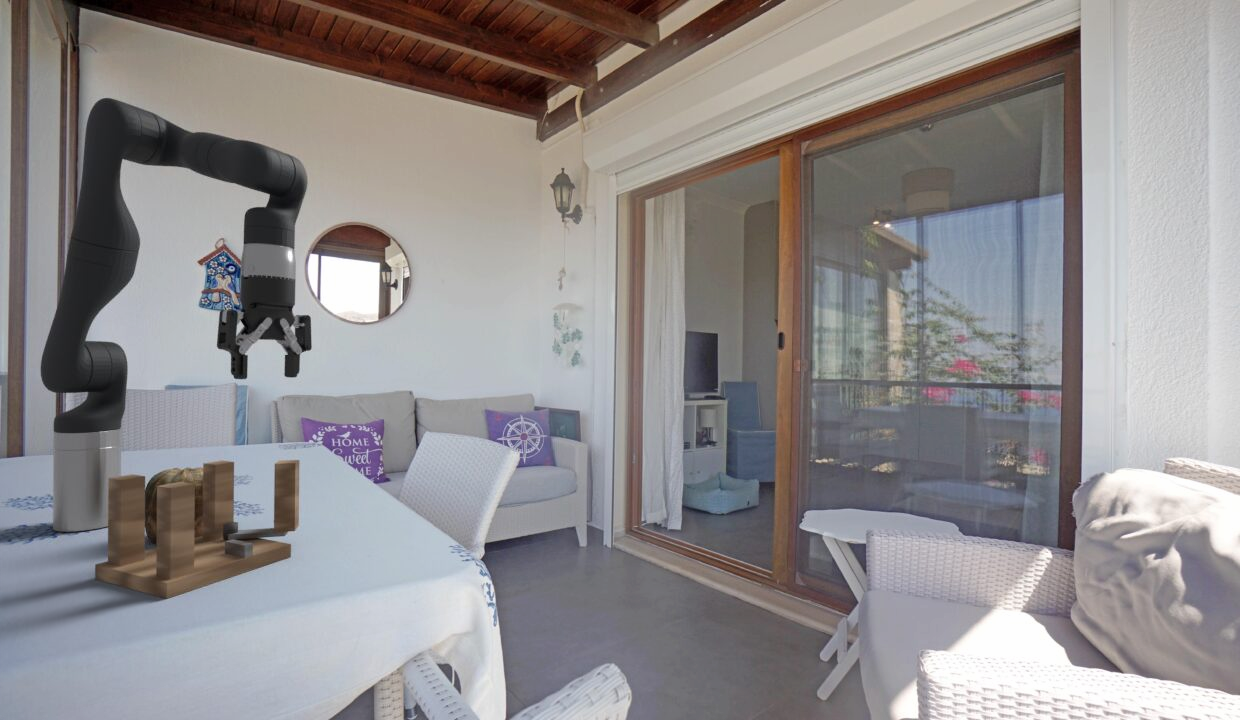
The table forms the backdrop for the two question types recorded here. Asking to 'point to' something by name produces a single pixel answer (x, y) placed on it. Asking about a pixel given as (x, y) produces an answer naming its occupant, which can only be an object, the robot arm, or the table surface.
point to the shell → (167, 478)
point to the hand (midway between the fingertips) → (266, 378)
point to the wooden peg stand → (179, 536)
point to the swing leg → (276, 505)
